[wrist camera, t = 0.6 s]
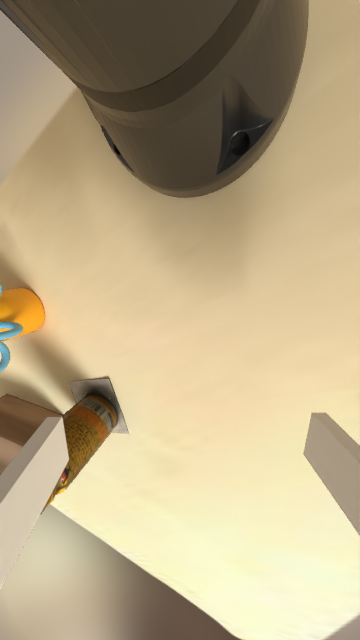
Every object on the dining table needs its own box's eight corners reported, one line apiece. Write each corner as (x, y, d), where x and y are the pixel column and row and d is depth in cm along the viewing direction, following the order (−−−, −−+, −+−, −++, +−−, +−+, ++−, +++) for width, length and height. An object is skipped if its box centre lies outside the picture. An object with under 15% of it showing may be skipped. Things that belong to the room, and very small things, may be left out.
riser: (6, 394, 35) (-39, 419, 30) (65, 416, 32) (27, 448, 27) (15, 448, 39) (-23, 479, 33) (68, 472, 36) (36, 511, 30)
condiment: (88, 431, 32) (3, 523, 21) (69, 381, 30) (-35, 452, 19) (129, 432, 29) (57, 537, 18) (110, 377, 27) (18, 456, 16)
